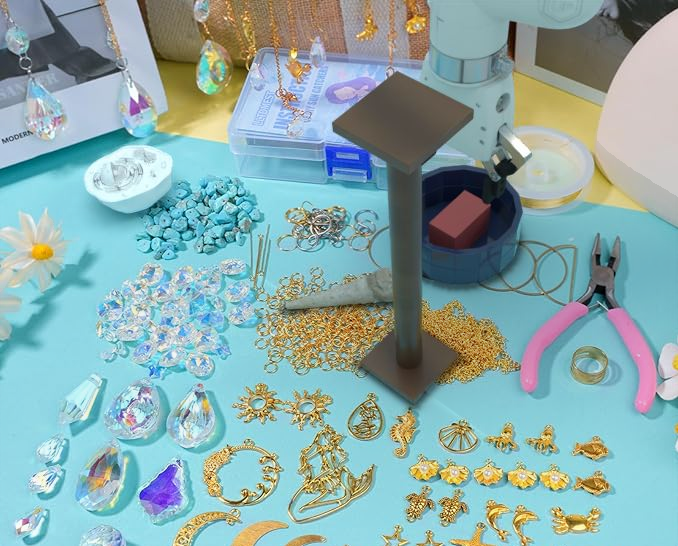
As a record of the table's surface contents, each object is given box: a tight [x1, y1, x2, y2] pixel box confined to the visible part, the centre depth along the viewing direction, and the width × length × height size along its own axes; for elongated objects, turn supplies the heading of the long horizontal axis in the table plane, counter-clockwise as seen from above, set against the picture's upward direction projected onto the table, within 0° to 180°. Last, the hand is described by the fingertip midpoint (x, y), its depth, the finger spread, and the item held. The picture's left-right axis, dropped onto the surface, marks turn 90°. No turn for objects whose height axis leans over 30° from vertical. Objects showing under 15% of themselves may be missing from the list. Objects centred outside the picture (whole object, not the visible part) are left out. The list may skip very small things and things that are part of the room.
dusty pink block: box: [429, 190, 491, 250], centre depth 102 cm, size 7×4×4 cm, turn 137°
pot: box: [422, 164, 524, 285], centre depth 102 cm, size 15×15×6 cm
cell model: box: [83, 145, 173, 214], centre depth 111 cm, size 10×12×7 cm
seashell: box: [285, 267, 393, 310], centre depth 99 cm, size 4×16×4 cm, turn 98°
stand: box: [331, 70, 474, 406], centre depth 80 cm, size 8×8×36 cm
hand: (458, 177), depth 96 cm, fingers open, 9 cm apart
